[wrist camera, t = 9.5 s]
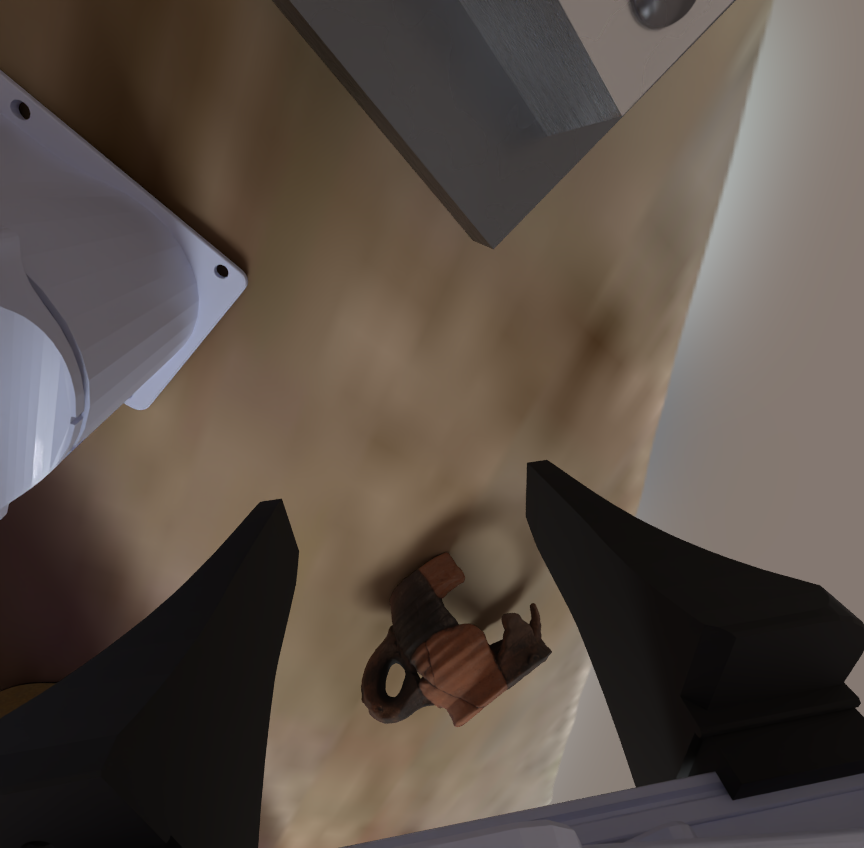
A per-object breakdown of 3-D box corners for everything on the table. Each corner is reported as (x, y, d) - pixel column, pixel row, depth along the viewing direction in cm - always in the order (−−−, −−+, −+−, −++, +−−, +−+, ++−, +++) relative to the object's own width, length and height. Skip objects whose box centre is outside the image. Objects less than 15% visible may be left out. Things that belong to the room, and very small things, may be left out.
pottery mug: (480, 517, 27) (571, 640, 22) (489, 556, 35) (557, 652, 30) (313, 632, 25) (377, 791, 20) (362, 645, 33) (416, 762, 28)
